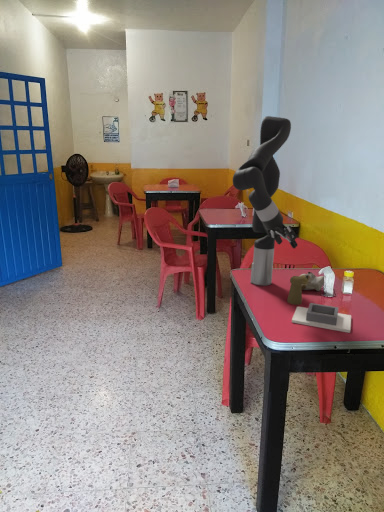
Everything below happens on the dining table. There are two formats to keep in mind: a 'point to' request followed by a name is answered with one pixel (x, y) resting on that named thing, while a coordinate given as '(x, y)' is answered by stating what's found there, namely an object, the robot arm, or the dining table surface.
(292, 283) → the cork
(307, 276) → the ceramic sculpture
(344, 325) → the board
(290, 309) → the dining table surface
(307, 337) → the dining table surface
